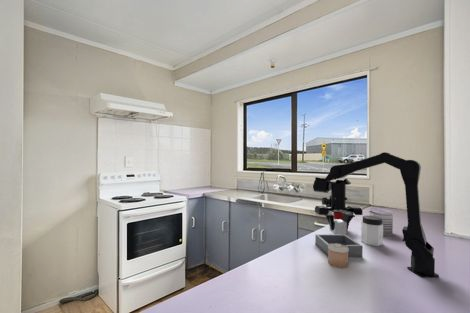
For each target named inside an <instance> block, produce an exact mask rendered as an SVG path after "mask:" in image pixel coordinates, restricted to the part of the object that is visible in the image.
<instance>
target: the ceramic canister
mask: <svg viewBox="0 0 470 313" xmlns="http://www.w3.org/2000/svg"><path fill="white" fill-rule="evenodd" d="M348 251H349V248H348V247H347V246H345V245H342V244H339V243H335V244H334V243H333V244H329V245H328V256H327V258H328V260H327V262H328V265H329V266H332V267H334V268H337V267H338V269H345V268H347V267H349V257H348Z"/></svg>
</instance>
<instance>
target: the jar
mask: <svg viewBox="0 0 470 313" xmlns="http://www.w3.org/2000/svg"><path fill="white" fill-rule="evenodd" d="M360 225H361V227H360V230H361V232H360V233H361V235H360V241H361V242H362V243H364V244H366V245H367V246H375V247H379V246H382V245H383V244H384V235H383V224H382V218H380V217H376V216H369V215H362V221H361V224H360Z"/></svg>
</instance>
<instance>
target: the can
mask: <svg viewBox="0 0 470 313" xmlns="http://www.w3.org/2000/svg"><path fill="white" fill-rule="evenodd" d="M368 210H369V212H368V213H369V215H368V216H376V217H380V218H382V224H383V236H385V237H387V236H388V237H389V236H393V232H394V231H393V228H394V227H393V226H394V224H393V222H394V220H393V219H394V216H393V215H394V214H395V213H394V212H392V211H391V210H388V209H383V208H377V207H376V208H374V207H370V208H369V209H368Z"/></svg>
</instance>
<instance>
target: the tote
mask: <svg viewBox="0 0 470 313" xmlns="http://www.w3.org/2000/svg"><path fill="white" fill-rule="evenodd" d="M314 236H315V243H314V244H315V245H316V247H317V248H319V250H321V251H322V252H323V253H324V254H325V255H326V256H327V257H328V245H329V244H333V243H334V244H335V243H339V244H342V245H345V246H347V247H348V248H349V251H348V258H363V253H364V252H363V245H362V244H360V243H359V242H358V241H356V240H354V239H352V237H350V236H348V235H347V234H334V233H332V234H325V233H324V234H321V233H320V234H318V233H317V234H315V235H314Z"/></svg>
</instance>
